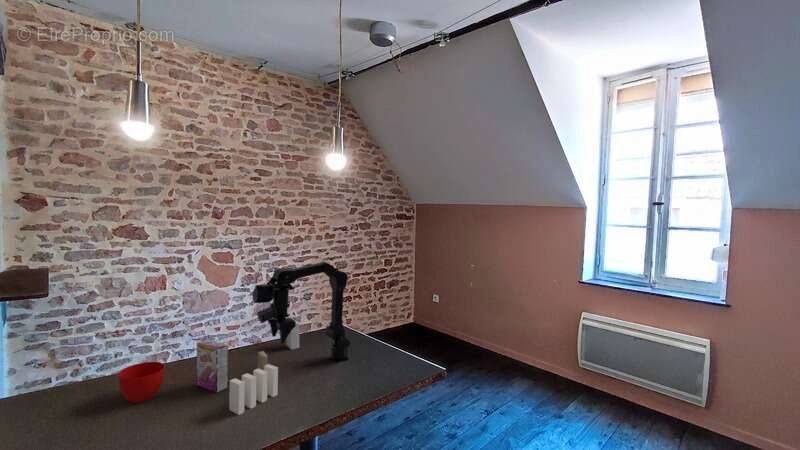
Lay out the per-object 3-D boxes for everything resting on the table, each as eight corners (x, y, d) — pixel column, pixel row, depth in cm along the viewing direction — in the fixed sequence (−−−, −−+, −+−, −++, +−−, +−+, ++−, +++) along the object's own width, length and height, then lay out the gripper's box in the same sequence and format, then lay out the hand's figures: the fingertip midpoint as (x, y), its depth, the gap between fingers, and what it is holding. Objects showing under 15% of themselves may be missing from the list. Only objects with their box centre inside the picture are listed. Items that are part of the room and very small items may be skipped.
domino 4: (257, 395, 131) (258, 368, 130) (267, 400, 128) (267, 372, 127) (252, 398, 129) (253, 370, 128) (262, 402, 126) (262, 374, 126)
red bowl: (157, 381, 138) (157, 355, 138) (168, 399, 126) (168, 370, 126) (114, 392, 129) (114, 364, 129) (121, 413, 117) (121, 382, 117)
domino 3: (262, 375, 146) (263, 351, 145) (267, 380, 142) (267, 355, 141) (257, 377, 144) (257, 352, 144) (261, 382, 140) (262, 356, 140)
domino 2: (246, 401, 127) (246, 373, 126) (256, 405, 124) (256, 377, 124) (241, 403, 125) (241, 375, 124) (250, 408, 122) (251, 379, 122)
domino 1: (234, 407, 123) (235, 378, 122) (244, 412, 120) (244, 382, 120) (229, 410, 121) (229, 380, 121) (238, 414, 119) (239, 384, 118)
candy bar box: (195, 386, 136) (195, 342, 135) (207, 380, 140) (207, 338, 139) (216, 393, 131) (216, 348, 130) (228, 387, 135) (228, 344, 135)
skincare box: (299, 347, 174) (300, 322, 174) (290, 350, 172) (291, 324, 171) (294, 343, 179) (294, 319, 179) (285, 345, 176) (285, 321, 176)
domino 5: (268, 390, 134) (268, 363, 134) (277, 394, 132) (277, 367, 131) (263, 392, 133) (264, 365, 132) (272, 397, 130) (273, 369, 130)
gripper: (252, 297, 148) (249, 335, 148) (268, 308, 133) (265, 351, 134) (279, 295, 155) (277, 332, 155) (297, 305, 140) (294, 346, 141)
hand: (278, 339), depth 146 cm, fingers open, 9 cm apart
